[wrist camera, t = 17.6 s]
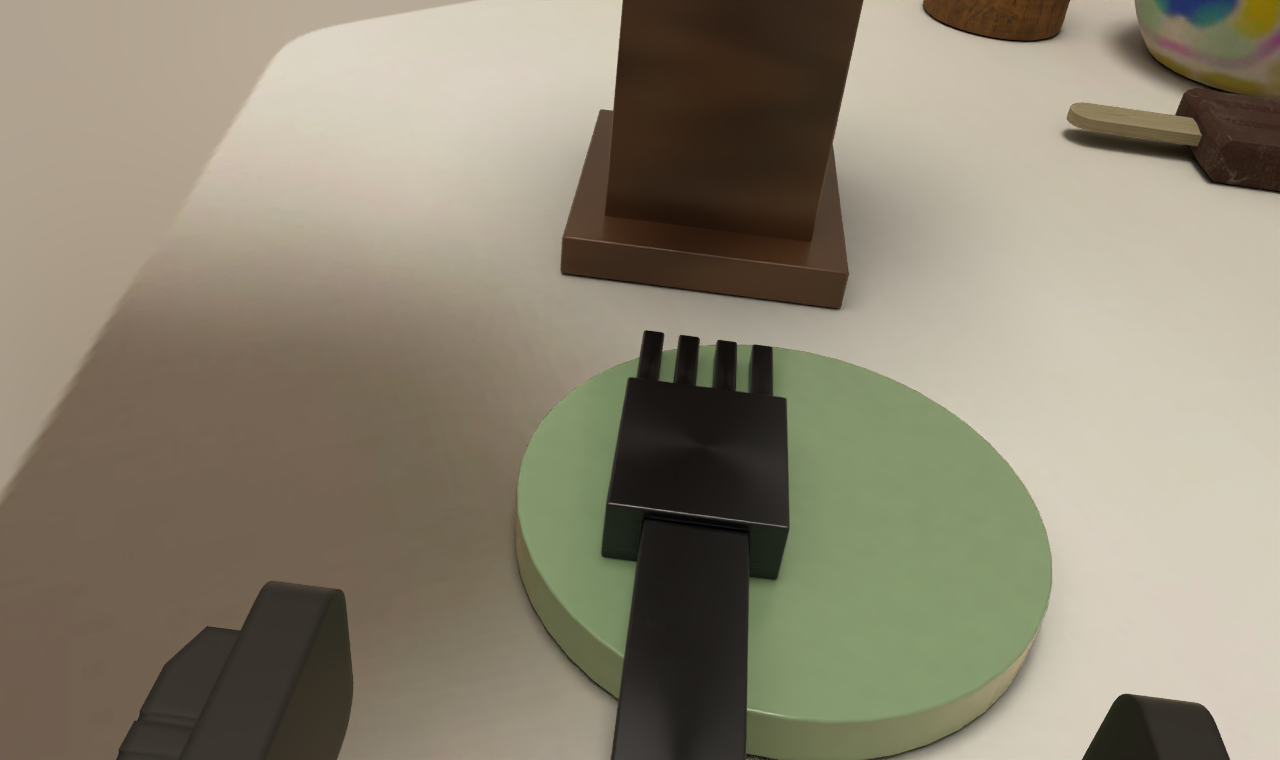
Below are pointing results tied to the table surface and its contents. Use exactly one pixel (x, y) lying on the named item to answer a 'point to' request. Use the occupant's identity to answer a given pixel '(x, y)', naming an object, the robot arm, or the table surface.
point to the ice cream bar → (1204, 133)
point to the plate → (818, 560)
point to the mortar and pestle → (1002, 17)
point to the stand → (720, 151)
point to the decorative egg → (1217, 42)
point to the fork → (694, 545)
